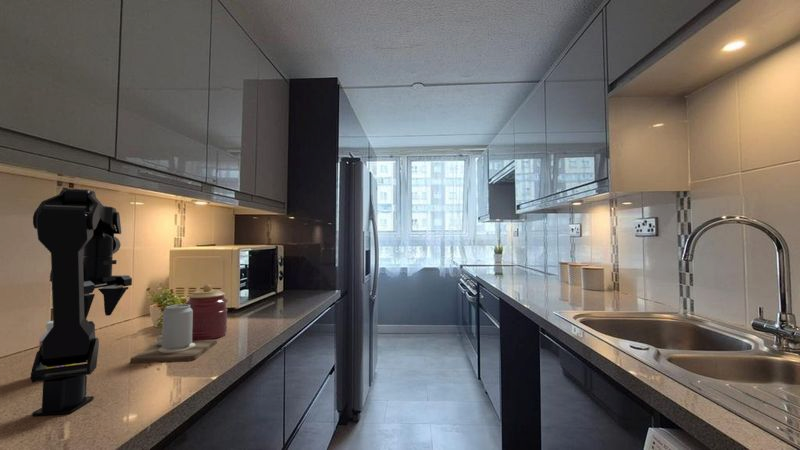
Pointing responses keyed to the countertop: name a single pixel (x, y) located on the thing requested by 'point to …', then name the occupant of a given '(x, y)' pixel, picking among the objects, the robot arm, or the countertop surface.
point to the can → (177, 326)
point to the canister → (208, 313)
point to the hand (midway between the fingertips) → (95, 319)
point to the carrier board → (174, 352)
